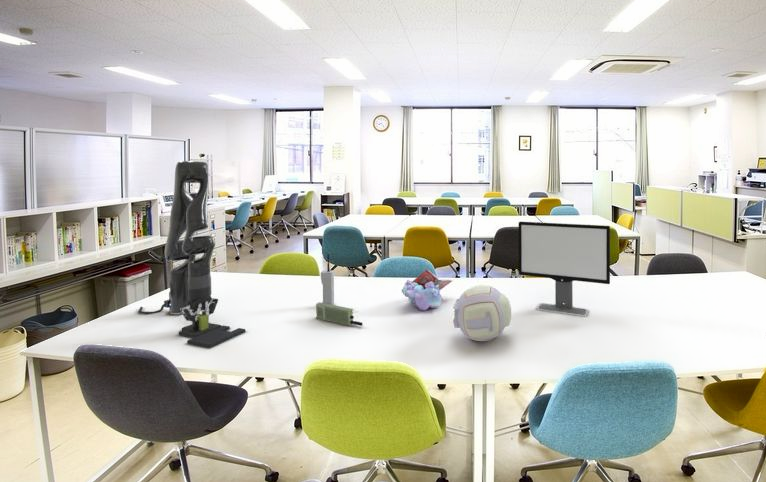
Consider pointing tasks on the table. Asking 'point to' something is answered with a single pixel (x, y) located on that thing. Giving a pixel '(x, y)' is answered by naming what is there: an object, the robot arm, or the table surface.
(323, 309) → the handheld radio
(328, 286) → the vintage mobile phone
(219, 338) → the charcoal pad
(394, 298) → the table surface
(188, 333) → the black pad
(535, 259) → the computer monitor
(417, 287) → the lavender knobbly lump
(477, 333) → the paneled ball
